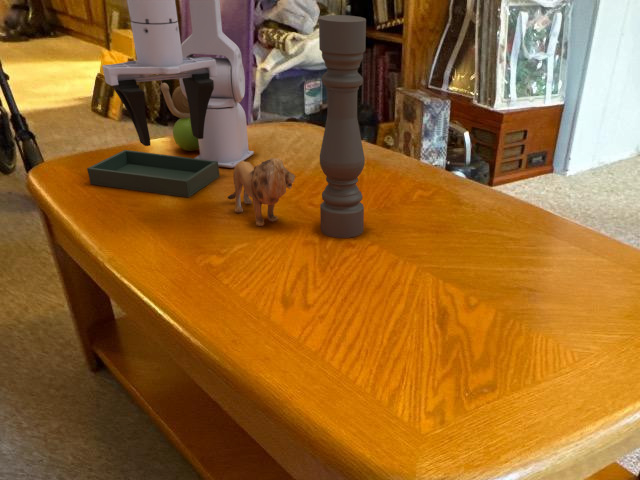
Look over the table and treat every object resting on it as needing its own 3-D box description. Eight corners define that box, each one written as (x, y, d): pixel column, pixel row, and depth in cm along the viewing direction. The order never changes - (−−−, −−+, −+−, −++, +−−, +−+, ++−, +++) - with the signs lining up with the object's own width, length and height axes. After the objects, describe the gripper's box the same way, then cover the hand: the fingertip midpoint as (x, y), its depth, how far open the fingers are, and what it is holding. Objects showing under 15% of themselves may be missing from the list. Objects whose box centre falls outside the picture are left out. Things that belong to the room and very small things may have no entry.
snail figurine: (167, 148, 124) (155, 72, 116) (201, 145, 126) (192, 70, 118) (173, 156, 121) (162, 78, 113) (209, 153, 123) (200, 76, 115)
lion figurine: (301, 225, 98) (299, 158, 92) (272, 234, 95) (268, 165, 89) (242, 198, 106) (236, 135, 100) (213, 205, 103) (205, 140, 97)
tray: (127, 164, 116) (124, 149, 115) (219, 176, 113) (218, 161, 112) (90, 184, 108) (86, 168, 107) (188, 197, 105) (186, 181, 104)
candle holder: (365, 223, 100) (370, 16, 83) (360, 239, 95) (365, 23, 78) (324, 220, 100) (320, 13, 83) (317, 236, 95) (312, 20, 79)
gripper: (107, 28, 79) (131, 155, 88) (221, 22, 85) (233, 141, 94) (88, 20, 83) (112, 141, 92) (198, 15, 89) (211, 129, 98)
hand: (172, 140), depth 93 cm, fingers open, 7 cm apart
